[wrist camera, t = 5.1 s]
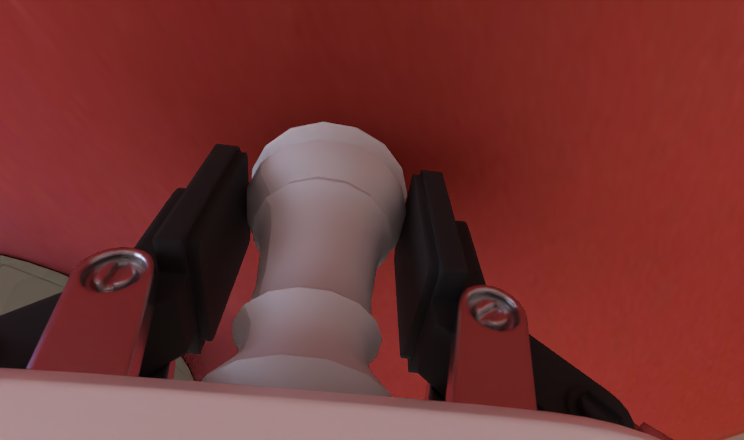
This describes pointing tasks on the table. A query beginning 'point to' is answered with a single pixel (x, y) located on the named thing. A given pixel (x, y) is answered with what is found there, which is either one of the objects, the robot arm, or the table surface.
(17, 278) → the pale green cooking pot
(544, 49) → the table surface
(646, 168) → the table surface
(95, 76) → the table surface
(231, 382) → the rook chess piece
